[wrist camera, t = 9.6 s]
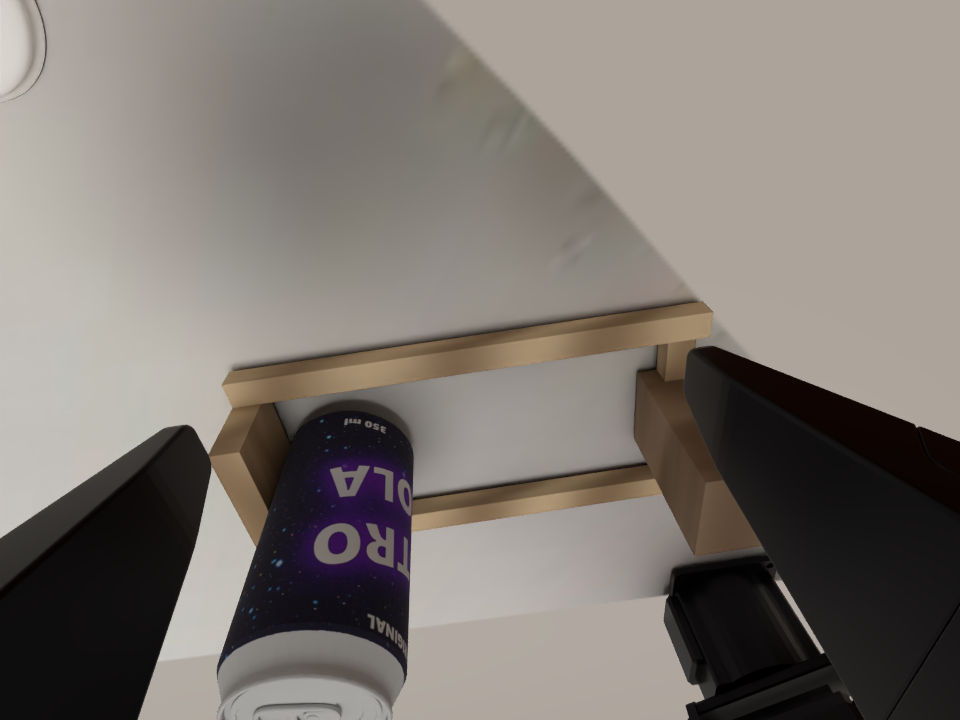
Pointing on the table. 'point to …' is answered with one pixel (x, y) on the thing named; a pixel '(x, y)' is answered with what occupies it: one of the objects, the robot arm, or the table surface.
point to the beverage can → (327, 581)
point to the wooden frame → (659, 396)
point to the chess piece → (20, 47)
